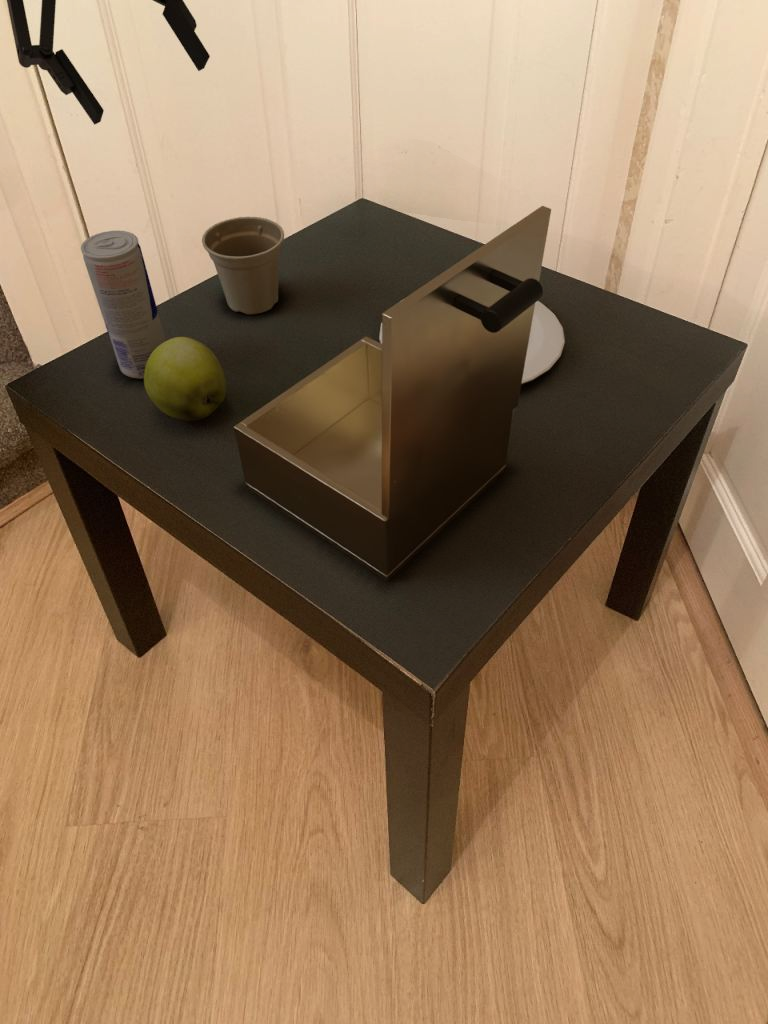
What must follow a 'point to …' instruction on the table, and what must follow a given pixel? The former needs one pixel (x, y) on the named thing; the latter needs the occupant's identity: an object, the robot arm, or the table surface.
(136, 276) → the beverage can
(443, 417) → the lid
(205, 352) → the apple
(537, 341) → the plate
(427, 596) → the table surface
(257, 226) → the flower pot
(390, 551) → the bronze square open box
